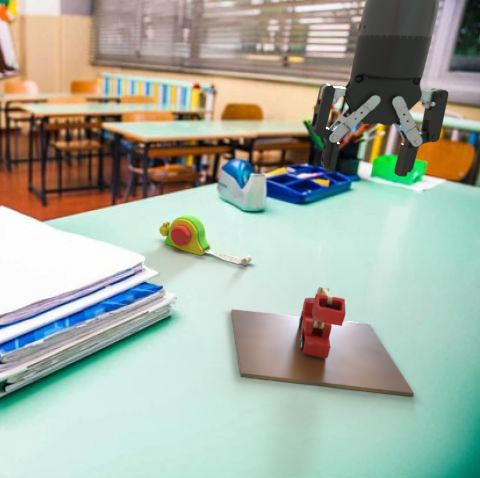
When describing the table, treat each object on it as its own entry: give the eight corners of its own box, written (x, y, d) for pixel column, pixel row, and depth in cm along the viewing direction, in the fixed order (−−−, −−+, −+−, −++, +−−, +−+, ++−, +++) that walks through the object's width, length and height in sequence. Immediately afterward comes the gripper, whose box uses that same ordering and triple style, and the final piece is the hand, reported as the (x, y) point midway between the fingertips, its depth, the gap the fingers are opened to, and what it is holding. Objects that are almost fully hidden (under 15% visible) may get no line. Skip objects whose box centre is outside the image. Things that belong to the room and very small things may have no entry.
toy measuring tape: (167, 235, 104) (169, 206, 102) (255, 260, 94) (260, 228, 92) (151, 244, 99) (153, 213, 97) (242, 271, 89) (247, 237, 87)
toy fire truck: (322, 323, 72) (335, 263, 68) (330, 379, 60) (347, 309, 56) (298, 319, 73) (310, 259, 69) (301, 373, 60) (316, 303, 57)
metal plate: (368, 326, 73) (369, 323, 72) (413, 396, 58) (414, 393, 58) (231, 311, 75) (231, 309, 75) (240, 376, 60) (241, 373, 60)
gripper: (338, 30, 53) (312, 177, 59) (480, 34, 51) (438, 184, 57) (321, 32, 60) (299, 163, 66) (445, 35, 58) (411, 169, 64)
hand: (364, 173), depth 62 cm, fingers open, 8 cm apart
